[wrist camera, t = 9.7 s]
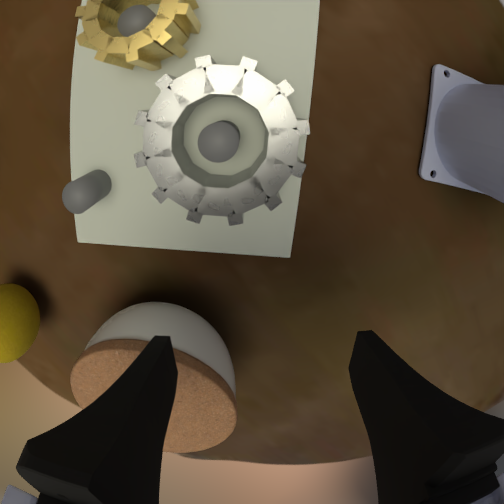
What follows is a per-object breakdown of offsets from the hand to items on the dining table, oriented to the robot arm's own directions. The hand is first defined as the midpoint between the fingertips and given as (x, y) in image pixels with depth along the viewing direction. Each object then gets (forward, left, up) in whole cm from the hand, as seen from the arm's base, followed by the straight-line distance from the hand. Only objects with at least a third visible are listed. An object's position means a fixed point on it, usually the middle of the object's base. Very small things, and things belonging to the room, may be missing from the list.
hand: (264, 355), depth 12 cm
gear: (+3, -7, -9) cm, 11 cm away
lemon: (+19, +6, -10) cm, 22 cm away
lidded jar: (+6, +8, -10) cm, 14 cm away
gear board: (+5, -9, -10) cm, 14 cm away
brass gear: (+7, -13, -9) cm, 17 cm away
